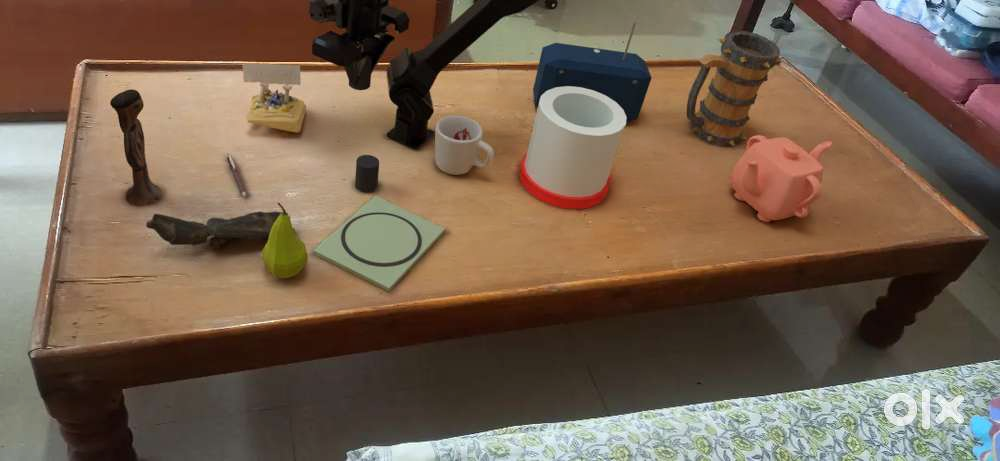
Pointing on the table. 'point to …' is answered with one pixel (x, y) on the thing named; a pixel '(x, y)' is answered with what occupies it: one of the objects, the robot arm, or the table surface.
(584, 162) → the container
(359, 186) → the stamp
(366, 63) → the stamp
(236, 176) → the pen
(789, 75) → the table surface
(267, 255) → the fruit
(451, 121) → the cup
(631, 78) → the radio
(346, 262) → the board
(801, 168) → the teapot
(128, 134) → the figurine
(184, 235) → the statue
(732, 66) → the mug
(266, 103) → the cake
